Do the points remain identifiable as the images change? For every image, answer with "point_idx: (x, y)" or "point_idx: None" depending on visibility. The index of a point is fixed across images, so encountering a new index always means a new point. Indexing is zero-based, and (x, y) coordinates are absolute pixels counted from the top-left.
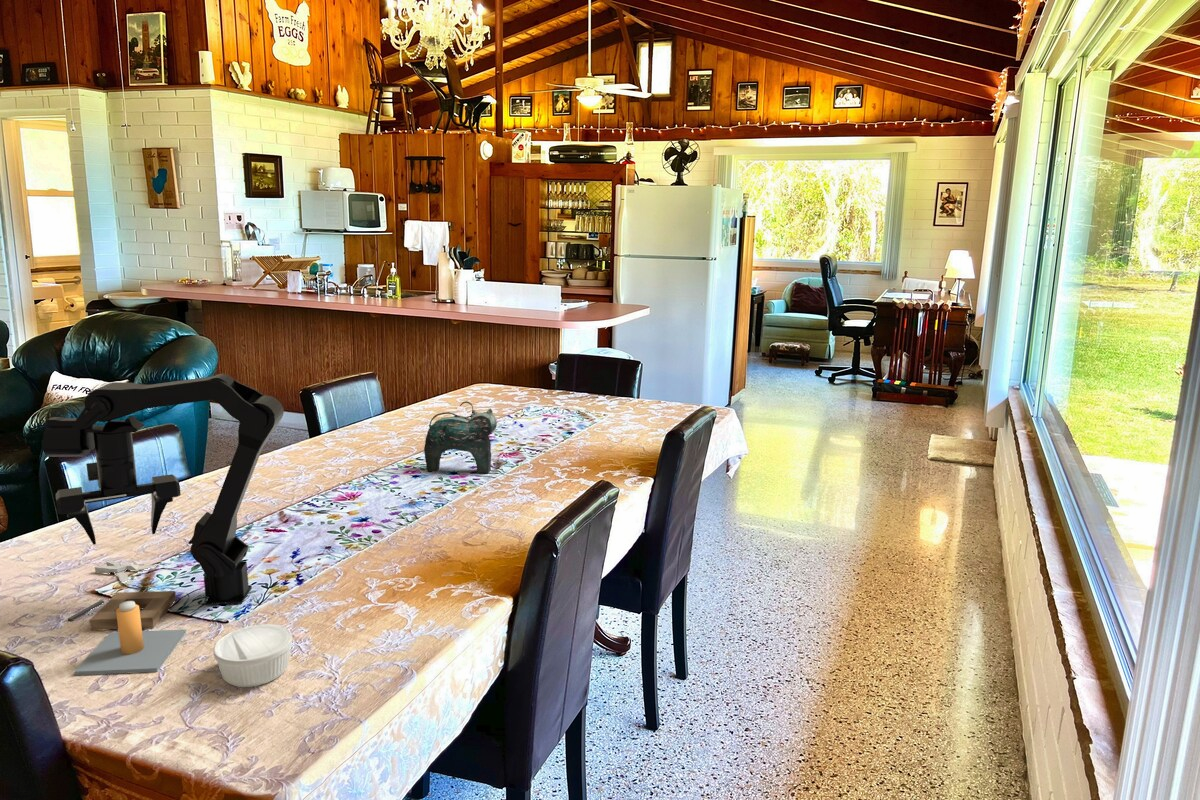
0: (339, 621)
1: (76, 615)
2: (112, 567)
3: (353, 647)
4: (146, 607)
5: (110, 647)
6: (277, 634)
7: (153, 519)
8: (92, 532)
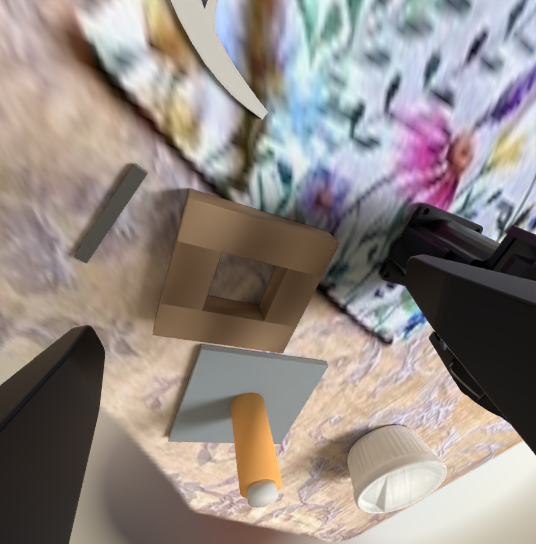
0: None
1: (93, 247)
2: None
3: (480, 421)
4: (272, 310)
5: (211, 394)
6: (431, 479)
7: (489, 397)
8: (78, 475)
